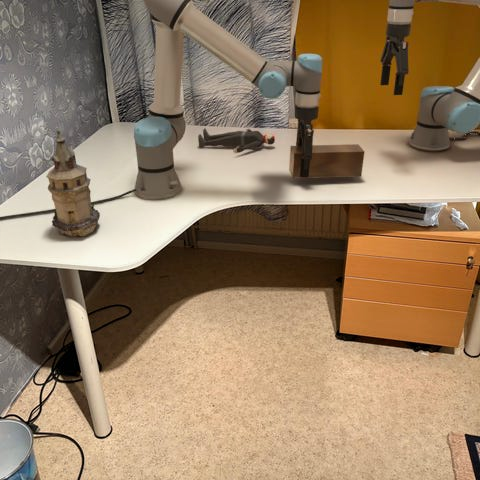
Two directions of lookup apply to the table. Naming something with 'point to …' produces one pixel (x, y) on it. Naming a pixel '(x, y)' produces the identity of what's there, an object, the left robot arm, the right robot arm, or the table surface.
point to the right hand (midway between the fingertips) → (390, 89)
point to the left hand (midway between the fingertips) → (302, 172)
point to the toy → (236, 139)
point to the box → (329, 161)
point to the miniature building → (70, 193)
